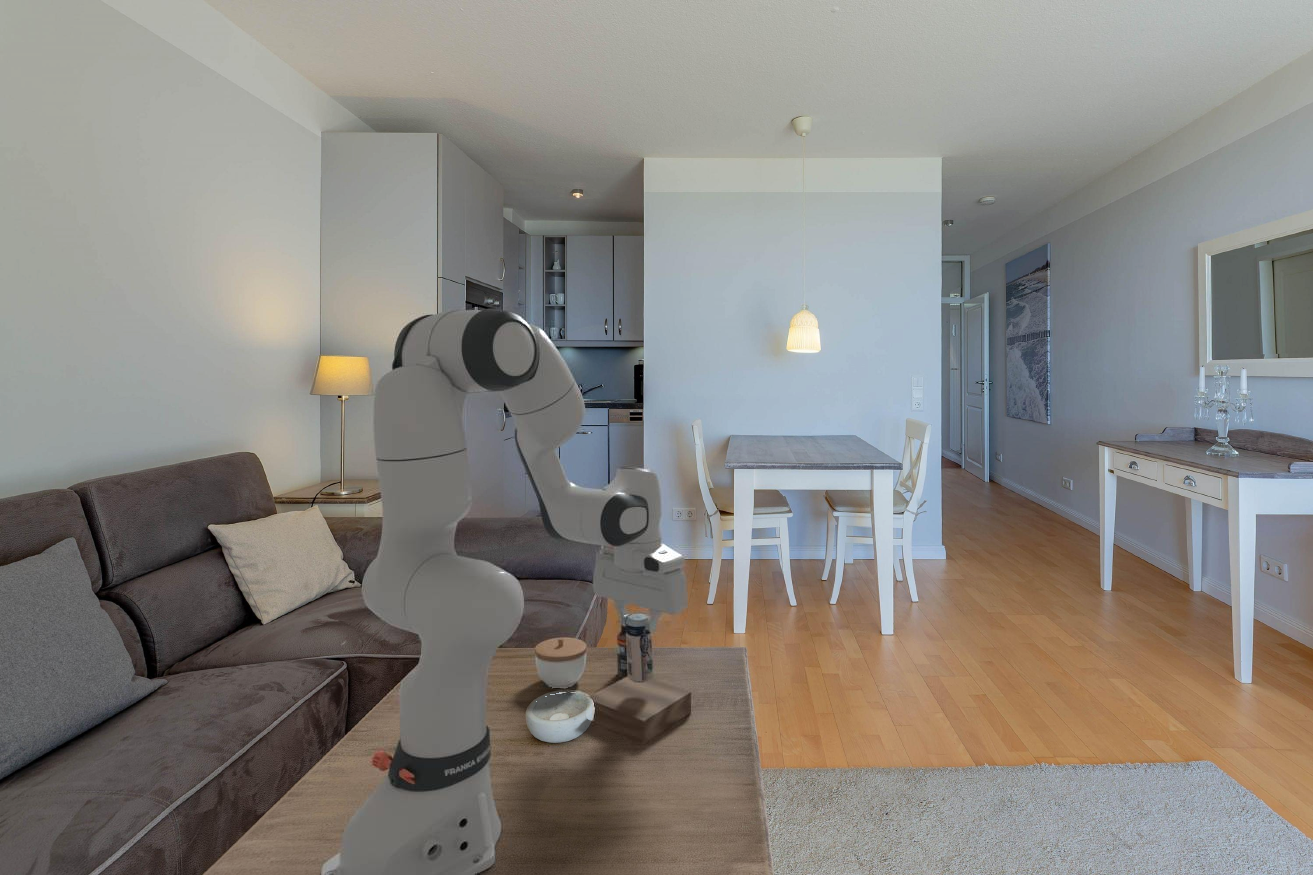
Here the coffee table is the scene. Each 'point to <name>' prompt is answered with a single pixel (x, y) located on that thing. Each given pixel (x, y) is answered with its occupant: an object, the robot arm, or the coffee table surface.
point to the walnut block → (640, 707)
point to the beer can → (639, 648)
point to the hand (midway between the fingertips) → (638, 627)
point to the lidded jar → (560, 661)
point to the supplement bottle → (622, 652)
